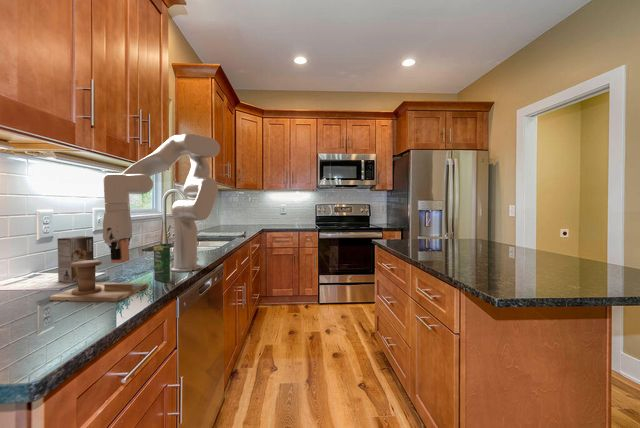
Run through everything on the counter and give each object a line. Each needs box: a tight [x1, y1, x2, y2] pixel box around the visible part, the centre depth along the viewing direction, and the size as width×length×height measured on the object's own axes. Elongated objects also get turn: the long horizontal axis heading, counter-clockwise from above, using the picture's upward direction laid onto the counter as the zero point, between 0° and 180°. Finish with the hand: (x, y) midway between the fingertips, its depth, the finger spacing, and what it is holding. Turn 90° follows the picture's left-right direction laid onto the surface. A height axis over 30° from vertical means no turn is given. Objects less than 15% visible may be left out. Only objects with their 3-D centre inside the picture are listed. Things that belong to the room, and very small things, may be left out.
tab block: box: [110, 239, 130, 264], centre depth 114 cm, size 4×4×8 cm
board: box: [49, 281, 149, 303], centre depth 102 cm, size 17×20×3 cm
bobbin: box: [71, 259, 103, 295], centre depth 99 cm, size 8×8×9 cm
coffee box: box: [57, 235, 95, 283], centre depth 119 cm, size 9×6×16 cm
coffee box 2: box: [153, 245, 171, 283], centre depth 120 cm, size 8×3×13 cm, turn 51°
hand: (120, 257), depth 114 cm, fingers closed on tab block, 4 cm apart
